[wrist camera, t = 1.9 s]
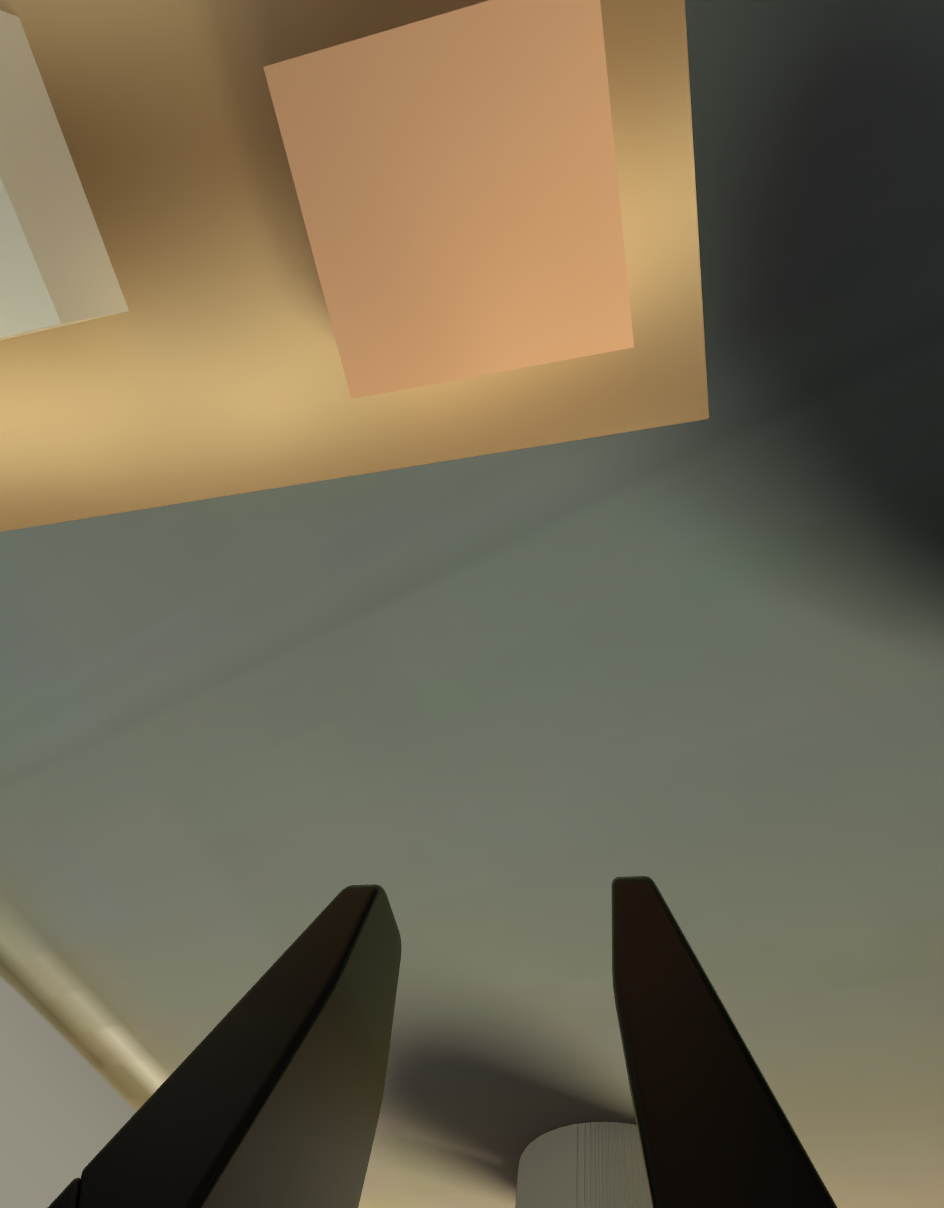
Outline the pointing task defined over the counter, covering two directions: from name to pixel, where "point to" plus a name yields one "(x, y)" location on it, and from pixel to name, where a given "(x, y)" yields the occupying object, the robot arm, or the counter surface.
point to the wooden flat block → (297, 271)
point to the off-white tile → (43, 209)
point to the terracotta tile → (461, 192)
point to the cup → (583, 1168)
